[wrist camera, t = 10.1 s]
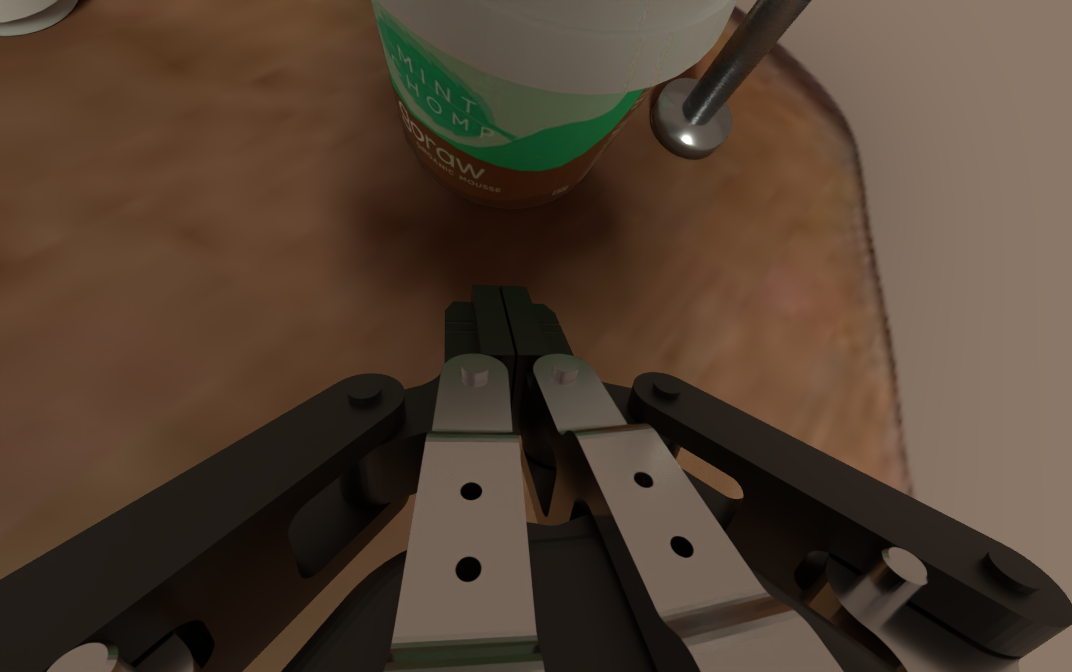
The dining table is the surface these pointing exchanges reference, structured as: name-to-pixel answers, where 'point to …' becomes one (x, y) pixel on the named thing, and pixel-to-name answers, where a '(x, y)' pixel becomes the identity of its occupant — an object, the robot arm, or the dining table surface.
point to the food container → (531, 83)
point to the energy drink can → (31, 15)
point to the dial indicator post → (719, 83)
